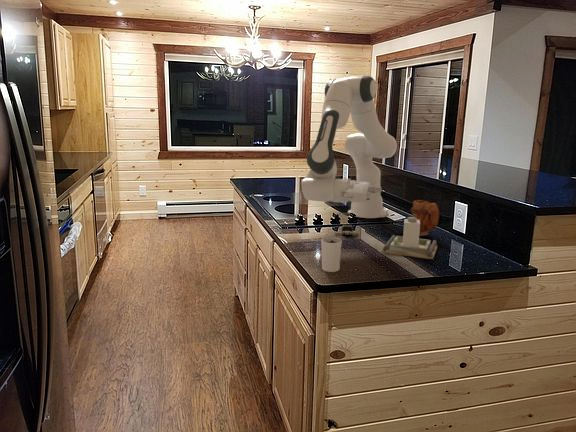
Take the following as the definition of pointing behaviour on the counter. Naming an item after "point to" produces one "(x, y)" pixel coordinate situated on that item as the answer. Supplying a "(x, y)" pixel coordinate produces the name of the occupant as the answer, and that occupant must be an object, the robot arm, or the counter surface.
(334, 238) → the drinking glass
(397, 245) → the tray
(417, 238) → the white capped container
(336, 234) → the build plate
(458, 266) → the counter surface
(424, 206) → the orange brown rounded block
